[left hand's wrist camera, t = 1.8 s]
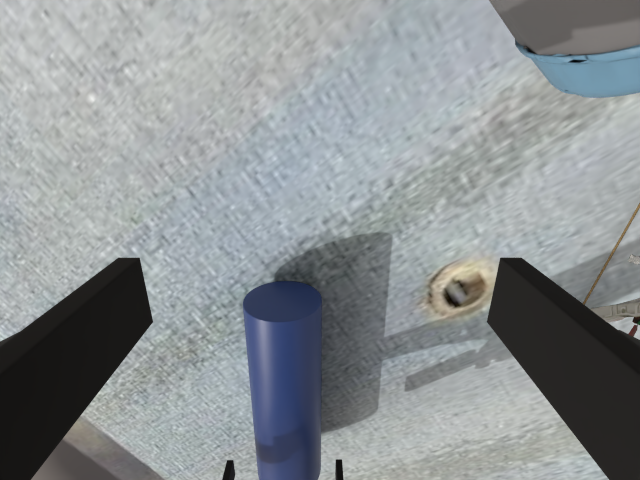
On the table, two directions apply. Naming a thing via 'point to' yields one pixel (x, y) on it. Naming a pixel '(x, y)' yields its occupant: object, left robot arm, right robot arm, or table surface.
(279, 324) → the rod
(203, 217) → the table surface
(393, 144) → the table surface
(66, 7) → the table surface
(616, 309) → the bow
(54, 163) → the table surface
